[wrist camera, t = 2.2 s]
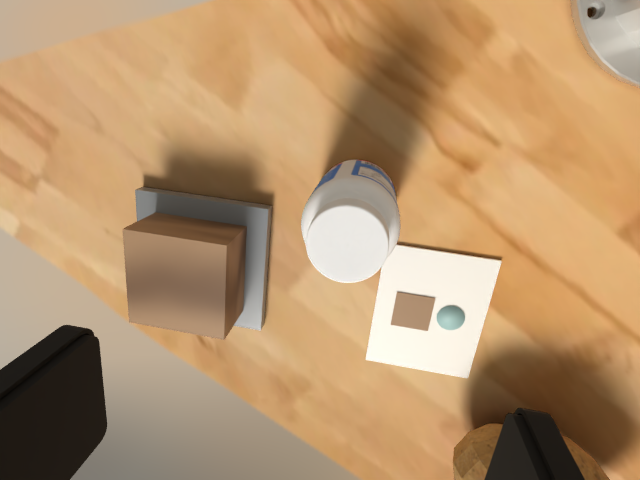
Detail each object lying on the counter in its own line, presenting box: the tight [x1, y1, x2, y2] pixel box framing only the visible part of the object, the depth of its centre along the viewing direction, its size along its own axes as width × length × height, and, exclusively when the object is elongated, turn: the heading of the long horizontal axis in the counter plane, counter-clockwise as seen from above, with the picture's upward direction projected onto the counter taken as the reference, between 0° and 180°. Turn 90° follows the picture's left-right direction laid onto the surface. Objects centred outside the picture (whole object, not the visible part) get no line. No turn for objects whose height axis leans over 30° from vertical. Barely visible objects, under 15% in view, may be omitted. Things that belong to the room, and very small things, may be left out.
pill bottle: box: [301, 160, 400, 283], centre depth 24 cm, size 6×5×10 cm
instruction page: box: [366, 244, 502, 378], centre depth 30 cm, size 10×8×1 cm
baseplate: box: [135, 187, 272, 331], centre depth 31 cm, size 10×10×1 cm
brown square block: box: [123, 212, 247, 340], centre depth 29 cm, size 7×7×4 cm
